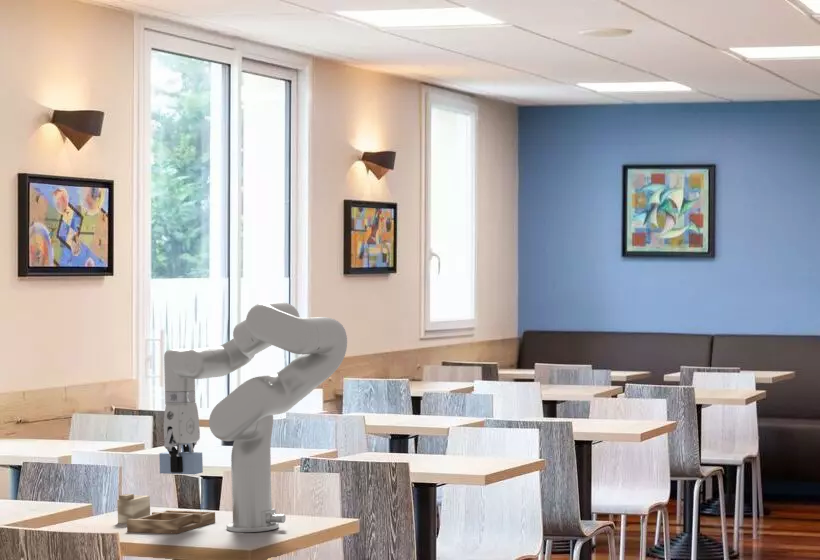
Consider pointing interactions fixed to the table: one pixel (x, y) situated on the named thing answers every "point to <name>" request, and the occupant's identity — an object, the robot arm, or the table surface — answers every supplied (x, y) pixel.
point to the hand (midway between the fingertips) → (181, 470)
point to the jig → (170, 521)
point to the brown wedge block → (132, 507)
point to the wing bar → (190, 463)
